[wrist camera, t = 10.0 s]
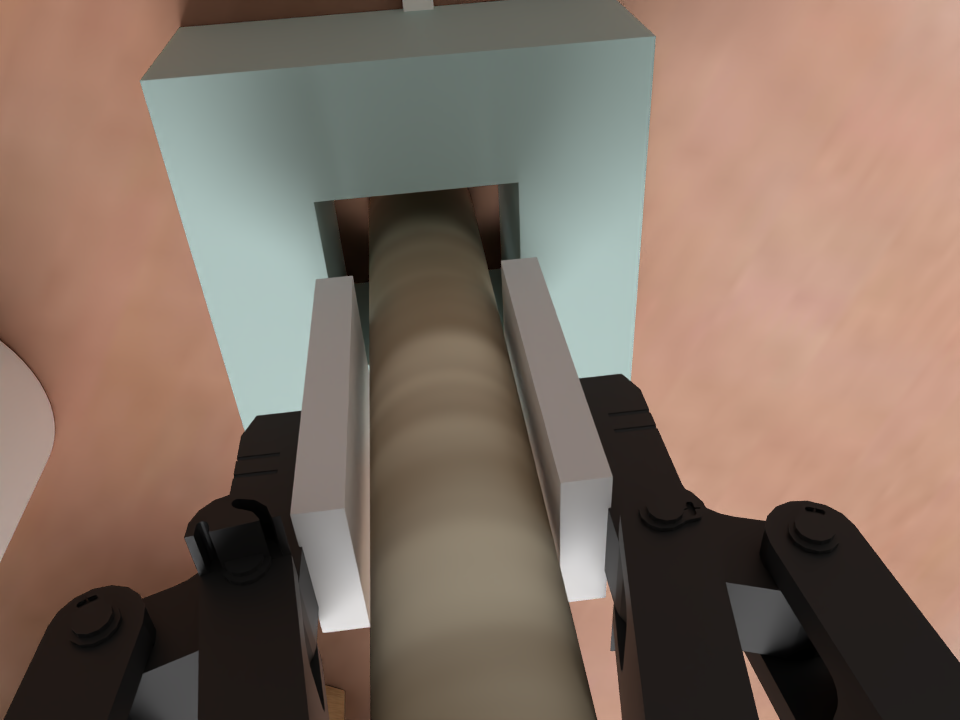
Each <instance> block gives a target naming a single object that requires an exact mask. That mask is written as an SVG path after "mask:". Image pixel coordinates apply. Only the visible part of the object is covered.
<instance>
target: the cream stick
mask: <svg viewBox="0 0 960 720" xmlns="http://www.w3.org/2000/svg"><path fill="white" fill-rule="evenodd" d="M402 2H403V11H404V12H408V11H420V10H432V9H434V4H433V0H402Z"/></svg>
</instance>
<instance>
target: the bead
mask: <svg viewBox="0 0 960 720" xmlns="http://www.w3.org/2000/svg"><path fill="white" fill-rule="evenodd" d="M655 39H656V36H655V35H654V34H653V33H652V32H651V31H650V30H648V29H647V28H646V27H645V26H644V25H643V24H642V23H641V22H640V21H639V20H638V19H637V18H635V17H634V16H633V15H632V14H631V13H630V12H629V11H628V10H627V9H626V8H625V7H623V6H622V5H621V4H620V3H619V2H618V1H617V0H503V1H491V2H479V3H467V4H455V5H443V6H434V9H432V10H420V11H408V12H404V11H403V9H395V10H383V11H371V12H359V13H347V14H335V15H323V16H311V17H299V18H287V19H274V20H262V21H250V22H238V23H226V24H214V25H202V26H190V27H179V29H178V30H177V31H176V33H175V34H174V35H173V37H172V38H171V40H170V41H169V42H168V44H167V45H166V46H165V48H164V49H163V50H162V52H161V53H160V54H159V56H158V57H157V58H156V60H155V61H154V62H153V64H152V65H151V66H150V68H149V69H148V71H147V72H146V73H145V75H144V76H143V77H142V79H141V80H140V83H141V86H142V90H143V93H144V96H145V100H146V103H147V106H148V110H149V113H150V116H151V120H152V123H153V126H154V130H155V133H156V136H157V140H158V143H159V146H160V150H161V153H162V156H163V160H164V163H165V167H166V170H167V173H168V177H169V180H170V183H171V187H172V190H173V193H174V197H175V200H176V203H177V207H178V210H179V213H180V217H181V220H182V223H183V227H184V230H185V233H186V237H187V240H188V243H189V247H190V250H191V253H192V257H193V260H194V263H195V267H196V270H197V273H198V277H199V280H200V283H201V287H202V290H203V293H204V297H205V300H206V303H207V307H208V310H209V313H210V317H211V320H212V323H213V327H214V330H215V333H216V337H217V340H218V343H219V347H220V350H221V353H222V357H223V360H224V364H225V367H226V370H227V374H228V377H229V380H230V384H231V387H232V390H233V394H234V397H235V400H236V404H237V407H238V410H239V414H240V417H241V420H242V424H243V427H244V430H246V429H247V428H248V426H249V425H250V424H251V422H252V421H253V420H254V418H255V417H256V416H257V415H266V414H275V413H284V412H294V411H302V401H303V392H304V383H305V374H306V365H307V356H308V346H309V337H310V328H311V319H312V310H313V300H314V291H315V282H316V279H324V278H334V277H344V276H347V273H346V267H345V262H344V256H343V250H342V244H341V239H340V233H339V227H338V221H337V216H336V210H335V204H334V200H341V199H352V198H362V197H372V196H383V195H393V194H404V193H414V192H424V191H435V190H445V189H456V188H466V187H476V186H487V185H497V184H498V193H499V217H500V240H501V261H502V260H512V259H522V258H532V257H537V259H538V262H539V265H540V267H541V270H542V273H543V276H544V279H545V282H546V285H547V288H548V291H549V294H550V296H551V299H552V302H553V305H554V308H555V311H556V314H557V317H558V320H559V322H560V325H561V328H562V331H563V334H564V337H565V340H566V343H567V346H568V348H569V351H570V354H571V357H572V360H573V363H574V366H575V369H576V372H577V375H578V377H579V378H586V377H595V376H604V375H613V374H623V375H624V376H625V377H626V378H628V379H629V380H630V381H631V369H632V356H633V342H634V328H635V314H636V301H637V287H638V273H639V259H640V246H641V232H642V218H643V204H644V191H645V177H646V163H647V149H648V136H649V122H650V108H651V94H652V81H653V67H654V53H655ZM488 271H489V275H490V279H491V283H492V287H493V291H494V295H495V300H496V304H497V308H498V312H499V316H500V320H501V324H502V328H503V333H504V321H503V298H502V275H501V269H493V270H488ZM354 286H355V292H356V298H357V304H358V310H359V316H360V322H361V328H362V334H363V339H364V345H365V351H366V357H367V363H368V369H369V282H366V283H356V284H354Z"/></svg>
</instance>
